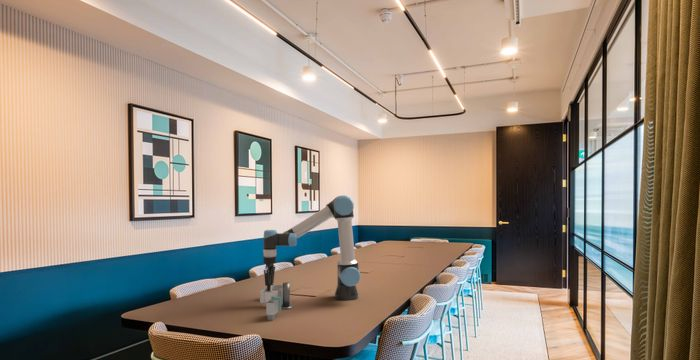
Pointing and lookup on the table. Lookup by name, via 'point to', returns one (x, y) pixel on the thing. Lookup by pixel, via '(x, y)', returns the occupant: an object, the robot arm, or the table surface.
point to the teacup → (275, 287)
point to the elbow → (270, 295)
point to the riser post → (286, 296)
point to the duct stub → (273, 307)
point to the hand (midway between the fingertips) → (269, 296)
